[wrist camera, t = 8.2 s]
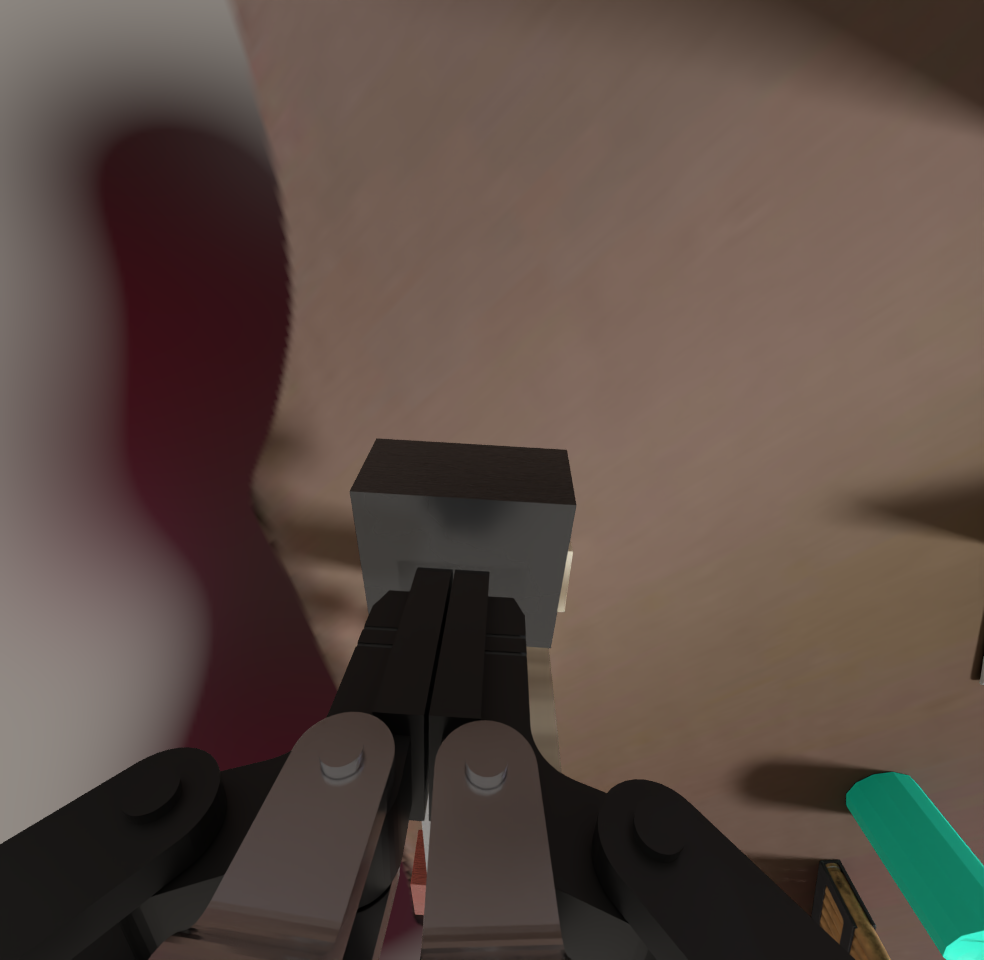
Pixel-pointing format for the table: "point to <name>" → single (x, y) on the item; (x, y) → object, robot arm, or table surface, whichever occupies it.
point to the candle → (924, 861)
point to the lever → (466, 533)
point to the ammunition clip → (845, 913)
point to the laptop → (982, 674)
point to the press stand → (545, 689)
